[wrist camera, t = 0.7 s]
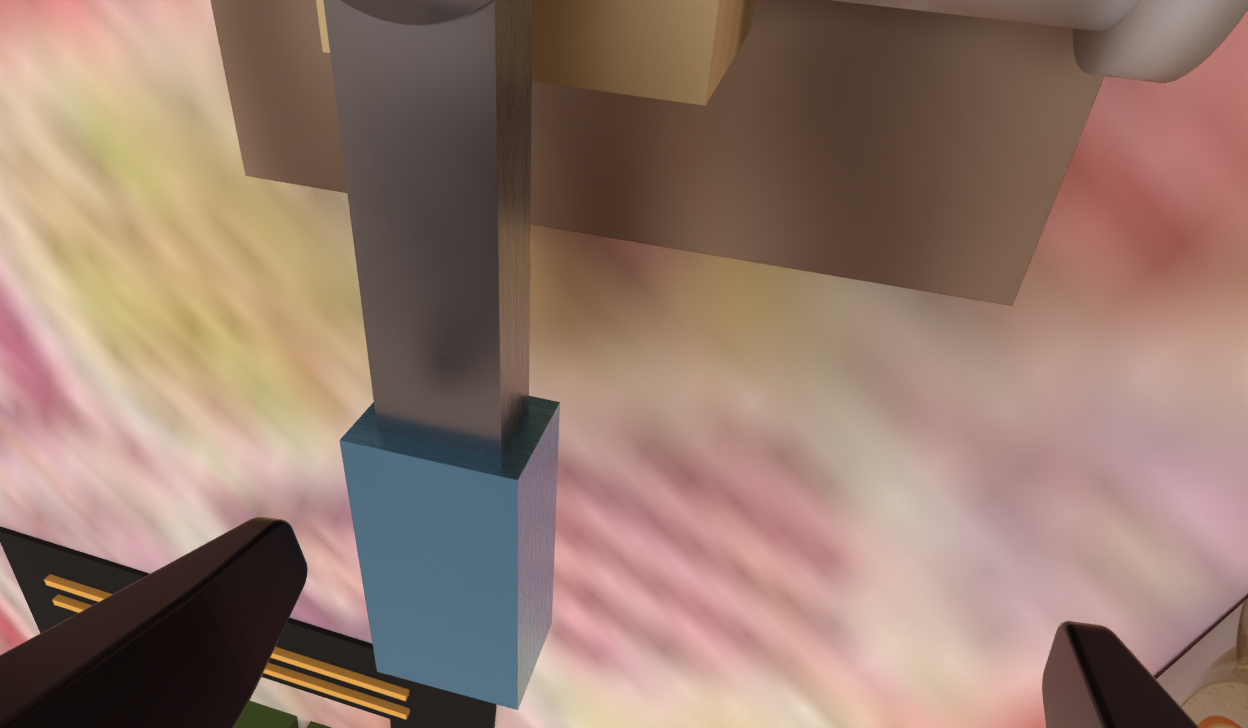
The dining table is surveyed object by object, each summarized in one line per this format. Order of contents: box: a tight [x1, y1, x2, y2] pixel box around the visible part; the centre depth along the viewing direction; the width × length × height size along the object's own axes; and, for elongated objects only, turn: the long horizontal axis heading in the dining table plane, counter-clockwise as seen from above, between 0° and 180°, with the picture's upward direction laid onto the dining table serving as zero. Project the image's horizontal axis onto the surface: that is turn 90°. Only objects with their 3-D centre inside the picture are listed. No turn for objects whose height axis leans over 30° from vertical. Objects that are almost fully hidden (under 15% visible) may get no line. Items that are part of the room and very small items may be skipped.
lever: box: [323, 0, 560, 710], centre depth 11 cm, size 15×3×2 cm, turn 176°
